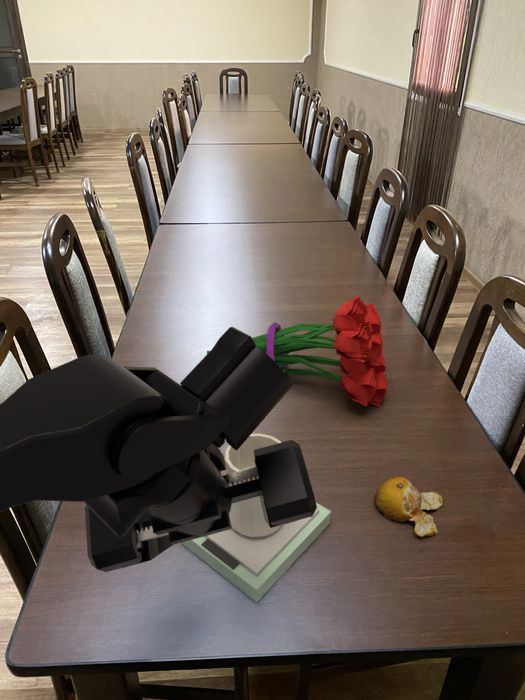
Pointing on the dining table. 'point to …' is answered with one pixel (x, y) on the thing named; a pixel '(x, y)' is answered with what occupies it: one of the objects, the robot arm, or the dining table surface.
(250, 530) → the cream faceted cup
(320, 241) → the dining table surface
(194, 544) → the scale
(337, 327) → the bouquet
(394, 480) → the fruit
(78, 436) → the robot arm
